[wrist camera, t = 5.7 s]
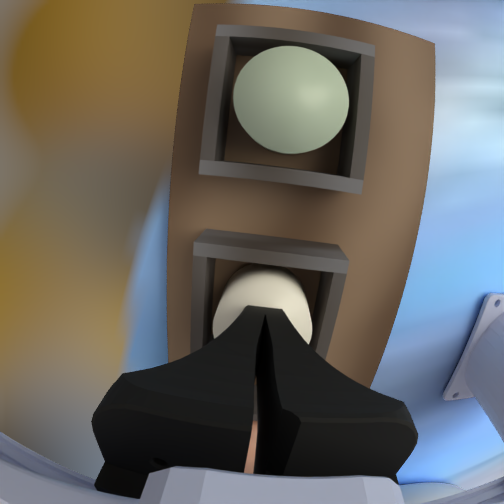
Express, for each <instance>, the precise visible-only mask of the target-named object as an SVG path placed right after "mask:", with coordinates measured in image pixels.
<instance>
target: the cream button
mask: <svg viewBox="0 0 504 504" xmlns="http://www.w3.org/2000/svg"><path fill="white" fill-rule="evenodd" d="M247 305H252V306H260V307H269V308H278V309H283V311H284V312H285V314H286V315H287V317H288V318H289V320H290V321H291V323H292V324H293V326H294V327H295V328H296V330H297V331H298V332H299V334H300V335H301V336H302V338H303V339H304V340H305V341H306V342H307V343H308V344H309V343H310V340H311V336H312V322H311V317H310V312H309V308H308V303H307V299H306V294H305V290H304V287H303V285H302V283H301V282H300V280H299V279H298V277H297V276H296V275H295V274H294V273H293V272H291V271H290V270H288V269H287V268H285V267H283V266H275V265H267V264H259V263H254V264H250V265H247V266H245V267H243V268H241V269H240V270H238V271H237V272H236V273H234V274H233V275H232V277H231V278H230V279H229V280H228V282H227V284H226V286H225V288H224V291H223V294H222V297H221V299H220V302H219V305H218V308H217V310H216V313H215V316H214V320H213V335H214V339H215V338H216V337H217V336H219V335H220V334H221V333H222V332H223V331H224V330H226V329H227V328H228V327H229V326H230V325H231V324H232V323H233V322H234V320H235V319H236V318H237V317H238V316H239V315H240V314H241V312H242V311H243V309H244V308H245V307H246V306H247Z"/></svg>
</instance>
